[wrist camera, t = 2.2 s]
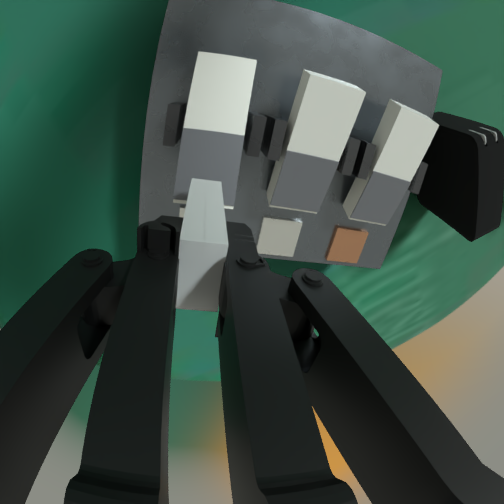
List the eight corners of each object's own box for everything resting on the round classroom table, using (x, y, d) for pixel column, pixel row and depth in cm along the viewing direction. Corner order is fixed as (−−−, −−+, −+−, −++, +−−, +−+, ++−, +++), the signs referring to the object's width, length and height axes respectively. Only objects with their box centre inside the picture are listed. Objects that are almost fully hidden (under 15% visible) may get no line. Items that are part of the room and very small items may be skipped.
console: (181, 9, 17) (166, -28, 10) (403, 69, 22) (467, 72, 14) (151, 213, 27) (130, 266, 19) (354, 238, 31) (395, 288, 23)
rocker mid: (303, 69, 14) (311, 74, 13) (355, 85, 15) (366, 92, 14) (266, 192, 20) (269, 207, 19) (311, 199, 21) (316, 214, 20)
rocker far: (389, 98, 15) (402, 107, 14) (426, 115, 16) (440, 125, 15) (342, 205, 22) (349, 219, 20) (377, 212, 22) (385, 226, 21)
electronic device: (416, 202, 29) (473, 245, 21) (406, 116, 24) (476, 137, 16) (442, 192, 29) (499, 231, 21) (435, 110, 24) (504, 130, 15)
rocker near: (198, 60, 15) (198, 50, 14) (252, 68, 16) (257, 59, 14) (175, 199, 17) (172, 202, 16) (230, 205, 18) (233, 209, 16)
